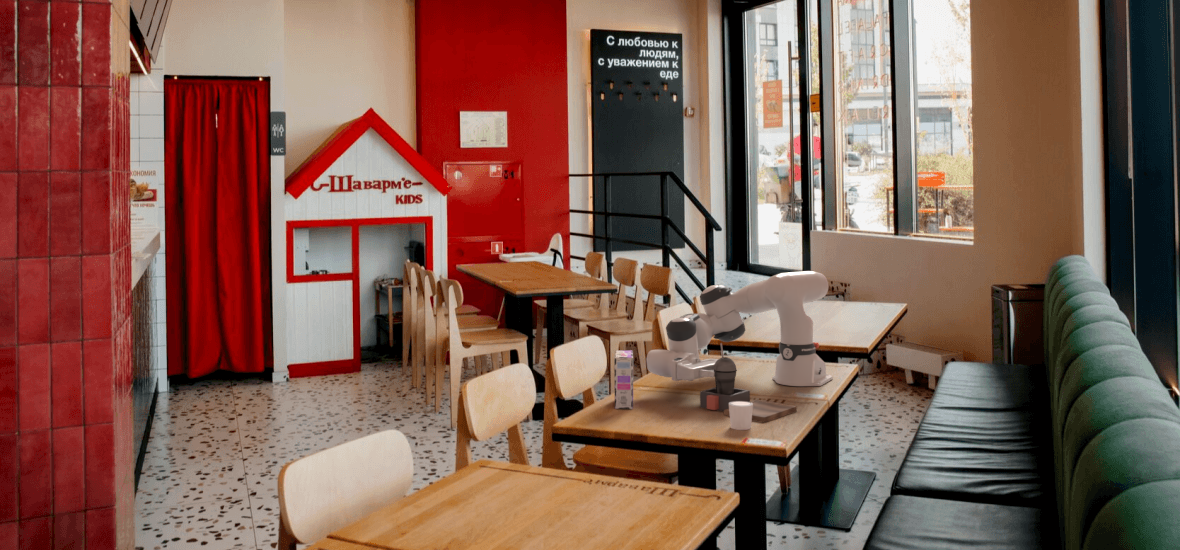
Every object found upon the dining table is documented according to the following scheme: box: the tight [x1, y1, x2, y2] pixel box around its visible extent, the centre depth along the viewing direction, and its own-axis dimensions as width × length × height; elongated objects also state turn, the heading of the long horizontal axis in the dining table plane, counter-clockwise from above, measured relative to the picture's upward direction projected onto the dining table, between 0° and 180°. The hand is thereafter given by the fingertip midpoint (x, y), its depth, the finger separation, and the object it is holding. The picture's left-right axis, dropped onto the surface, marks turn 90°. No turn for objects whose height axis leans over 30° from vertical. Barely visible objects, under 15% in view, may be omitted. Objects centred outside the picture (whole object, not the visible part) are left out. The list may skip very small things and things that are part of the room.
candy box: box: [613, 350, 634, 410], centre depth 287 cm, size 14×6×16 cm, turn 176°
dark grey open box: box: [699, 386, 751, 412], centre depth 282 cm, size 13×11×5 cm
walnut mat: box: [723, 399, 798, 423], centre depth 274 cm, size 18×14×2 cm
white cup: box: [729, 401, 753, 431], centre depth 257 cm, size 7×7×7 cm
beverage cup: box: [713, 342, 738, 395], centre depth 282 cm, size 7×7×20 cm
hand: (723, 372), depth 282 cm, fingers open, 8 cm apart
